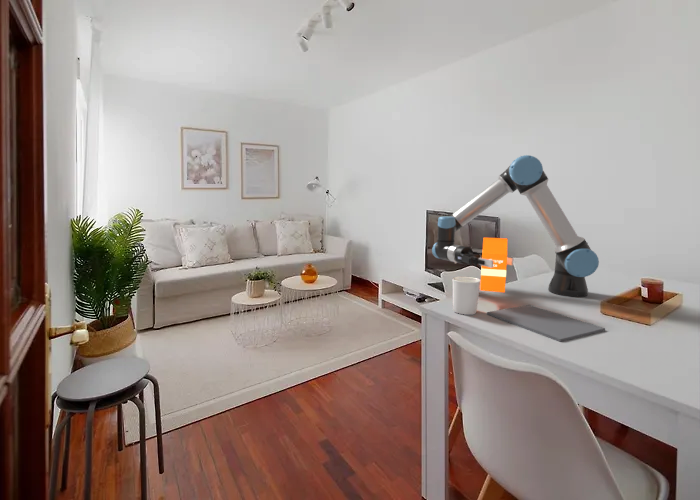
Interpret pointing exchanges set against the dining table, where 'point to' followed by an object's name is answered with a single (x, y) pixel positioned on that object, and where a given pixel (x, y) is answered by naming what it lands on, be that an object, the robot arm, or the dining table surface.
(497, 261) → the orange juice
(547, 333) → the mat
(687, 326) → the dining table surface
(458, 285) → the white cup
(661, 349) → the dining table surface
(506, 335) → the dining table surface
